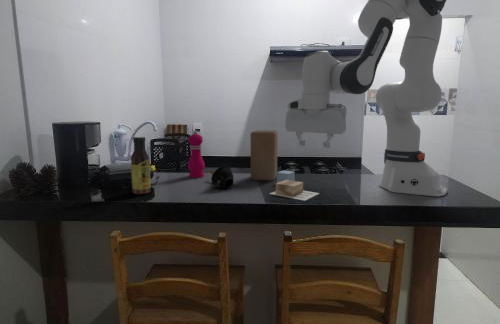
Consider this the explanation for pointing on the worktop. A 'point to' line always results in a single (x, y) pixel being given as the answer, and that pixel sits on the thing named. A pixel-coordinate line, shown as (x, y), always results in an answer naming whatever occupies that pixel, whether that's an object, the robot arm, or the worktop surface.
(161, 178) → the worktop surface
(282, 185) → the oak block
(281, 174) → the blue cube
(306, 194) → the recipe card
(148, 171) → the sauce bottle
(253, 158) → the block
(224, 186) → the black rounded dome
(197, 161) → the pepper mill
